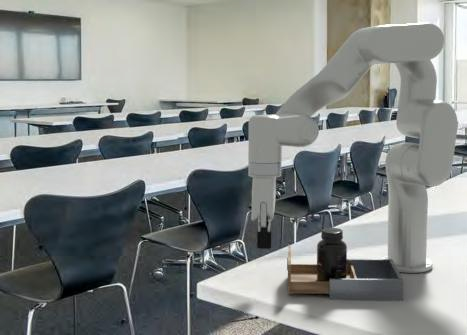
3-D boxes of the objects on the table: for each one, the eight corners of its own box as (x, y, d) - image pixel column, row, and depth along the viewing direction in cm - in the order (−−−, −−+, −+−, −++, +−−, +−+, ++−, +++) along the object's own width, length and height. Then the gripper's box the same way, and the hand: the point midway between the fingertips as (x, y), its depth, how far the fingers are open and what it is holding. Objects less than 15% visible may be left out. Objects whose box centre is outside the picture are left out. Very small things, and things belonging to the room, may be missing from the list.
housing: (325, 276, 143) (325, 258, 142) (391, 277, 141) (392, 258, 141) (329, 299, 128) (329, 279, 127) (403, 300, 126) (403, 280, 126)
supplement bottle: (310, 281, 135) (310, 230, 133) (327, 273, 140) (327, 224, 138) (336, 287, 130) (336, 235, 129) (352, 279, 135) (352, 229, 134)
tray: (287, 272, 144) (287, 245, 143) (351, 273, 142) (352, 245, 141) (287, 295, 129) (286, 264, 128) (358, 296, 127) (359, 265, 126)
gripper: (250, 164, 140) (250, 238, 143) (245, 174, 126) (245, 256, 128) (281, 165, 140) (281, 239, 142) (280, 174, 125) (279, 257, 128)
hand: (264, 247), depth 135 cm, fingers closed
